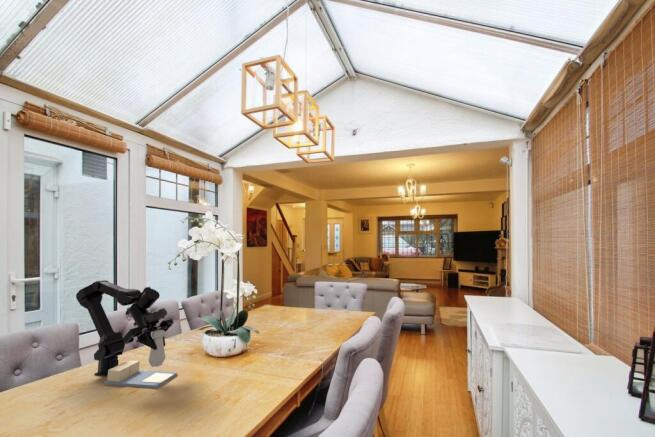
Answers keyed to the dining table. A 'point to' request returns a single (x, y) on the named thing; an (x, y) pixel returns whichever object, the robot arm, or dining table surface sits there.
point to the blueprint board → (137, 376)
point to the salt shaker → (159, 354)
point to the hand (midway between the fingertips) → (160, 347)
